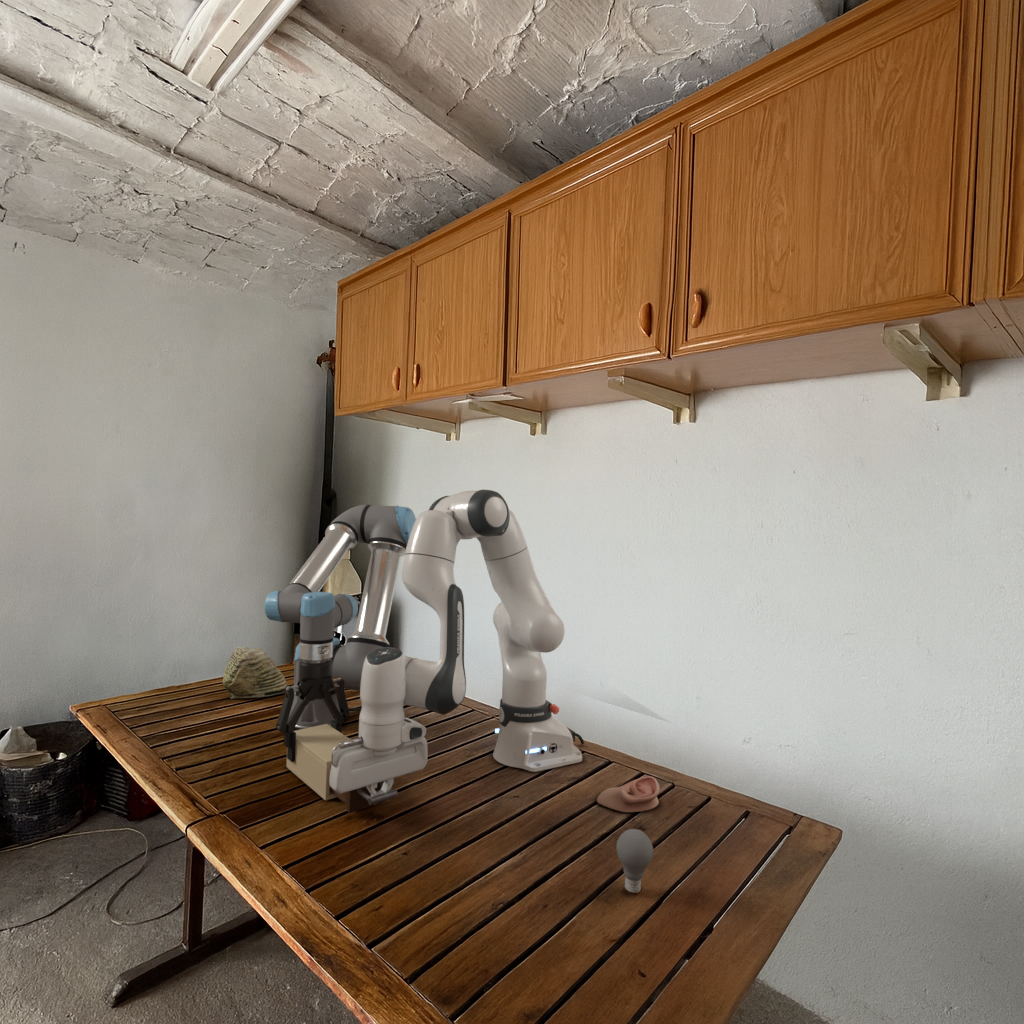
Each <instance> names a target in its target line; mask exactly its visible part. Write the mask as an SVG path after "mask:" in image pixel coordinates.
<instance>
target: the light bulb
mask: <svg viewBox="0 0 1024 1024" xmlns="http://www.w3.org/2000/svg"><path fill="white" fill-rule="evenodd" d="M615 849H616V854H617V857H618V859H619V861H620V863H621V865H622V867H623V873H624V874H623V875H624V876H625V878H624V888H625V890H627V891H628V892H630V893H634V894H635V893H639V892H640V891H641V889H642V887H641V886H642V879H643V877H644V875H645V871H646V868H647V867H648V866H649V864H650V863H651V861H652V859H653V855H654V847H653V843H652V841H651V838H649V836H648V835H647V834H646V833H645V832H643V831H642V830H641V829H636V828H629V829H627V830H625V831H623V832H622V833H621V834H620V835H619V837H618V839H617V841H616V847H615Z"/></svg>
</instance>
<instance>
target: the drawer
mask: <svg viewBox="0 0 1024 1024" xmlns="http://www.w3.org/2000/svg"><path fill="white" fill-rule="evenodd" d="M330 770H331V765H330ZM383 783H384V781H382V782H378V783H377V788H374V789H375V791H379V790H381V788H382V786H383ZM330 792H332V793H333V794H334V795H335V796H336V798H338V800H340V801H341V802H343V804H345V805H346V812H347V813H348V814H350V813H354V812H356V811H357V812H358V811H360V810H363V809H366V808H369V807H373V806H375V805H378V804H381V803H384V802H386V801H385V800H387V801H388V800H391V799H394V798H397V797H398V795H399V793H398V790H397V789H392V788H391V789H390V790H389V792H386V793H383V794H380V795H376V796H373V797H371V793H370V792H369V791H368V789H367V787H366V786H365V787H362V788H359V789H355V790H352V791H349V792H345V793H342V794H339V793H337V792H336V791H334V790H333V789H332V788H331V787H330ZM382 801H384V802H382ZM379 802H380V803H379ZM376 803H378V804H376ZM374 804H375V805H374Z"/></svg>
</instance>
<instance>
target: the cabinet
mask: <svg viewBox="0 0 1024 1024" xmlns="http://www.w3.org/2000/svg"><path fill="white" fill-rule="evenodd" d="M293 731H294V732H295V733H296V746H295V761H294V762H291V761H290V760H289V759H287V758H286V765H285V766H286V768H287V769H288V770H289V771H291V772H292V773H293V774H294V775H295V776H296V777H297V778H298V779H300V780H301V781H302V782H303V783H304V784H305V785H307V786H308V787H309V788H310V789H312V790H313V792H315V793H316V794H317V795H318V796H320V797H321V798H322V799H323V800H324V801H329V800H332V799H335V798H337V797H336V796H335V795H334V794H333V793H332V792H330V785H329V778H330V765H332V761H331V757H332V751H333V749H334V748H335V747H336V746H338V745H339V743H340V742H343V741H349V740H352V739H351V738H349V737H348V736H346V735H345V734H344V733H340V732H339V731H337V730H336V729H334V728H333V727H331V726H330V725H328V724H324V725H319V726H314V727H310V728H305V729H301V730H296V731H295V730H293ZM338 748H339V747H338Z"/></svg>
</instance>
